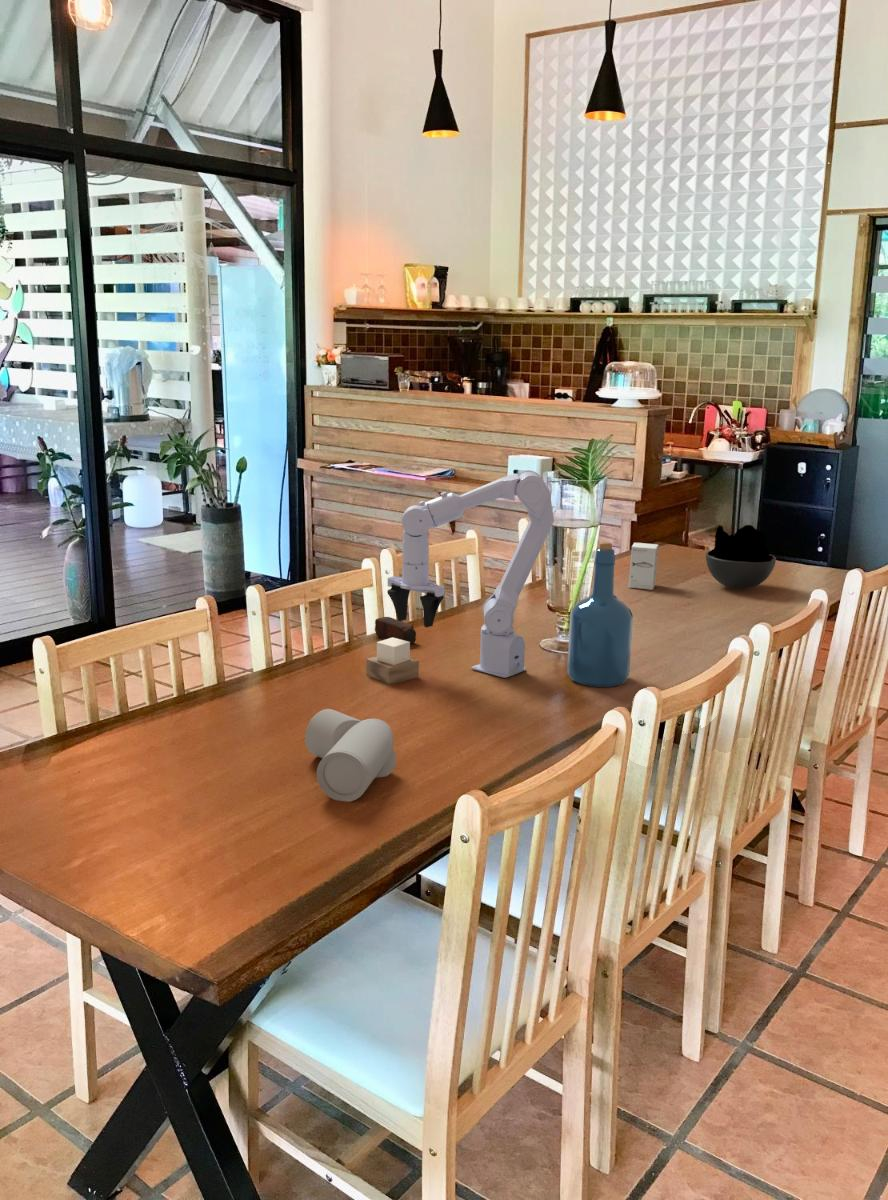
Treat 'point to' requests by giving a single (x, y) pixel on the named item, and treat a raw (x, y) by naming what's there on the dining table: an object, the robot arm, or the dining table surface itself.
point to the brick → (394, 629)
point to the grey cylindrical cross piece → (349, 752)
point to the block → (393, 651)
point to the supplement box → (643, 566)
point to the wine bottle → (600, 630)
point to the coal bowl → (740, 558)
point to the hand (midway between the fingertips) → (415, 623)
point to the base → (392, 670)
